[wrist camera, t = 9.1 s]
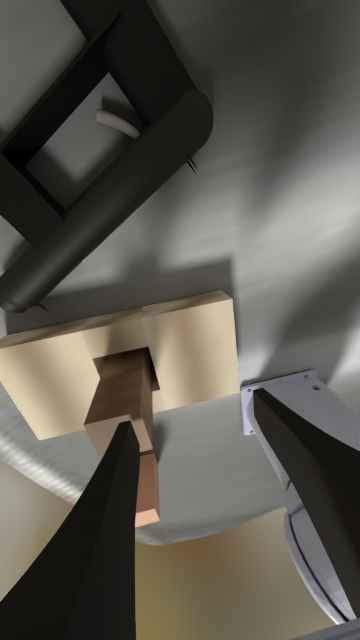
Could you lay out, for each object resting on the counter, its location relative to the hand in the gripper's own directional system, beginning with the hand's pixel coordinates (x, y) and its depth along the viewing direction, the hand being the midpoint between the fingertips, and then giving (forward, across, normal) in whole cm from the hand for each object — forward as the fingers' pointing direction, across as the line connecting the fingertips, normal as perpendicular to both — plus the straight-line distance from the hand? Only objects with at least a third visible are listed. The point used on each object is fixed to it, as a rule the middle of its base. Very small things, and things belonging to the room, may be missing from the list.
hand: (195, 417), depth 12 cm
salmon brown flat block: (+10, +9, +17) cm, 22 cm away
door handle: (+11, +6, -17) cm, 21 cm away
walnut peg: (+10, +5, +1) cm, 11 cm away
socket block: (+10, +5, +1) cm, 11 cm away
